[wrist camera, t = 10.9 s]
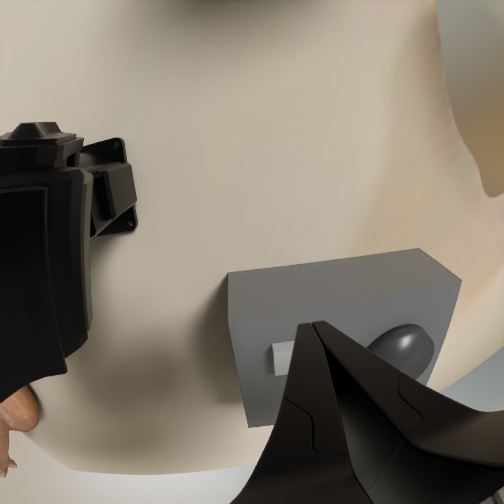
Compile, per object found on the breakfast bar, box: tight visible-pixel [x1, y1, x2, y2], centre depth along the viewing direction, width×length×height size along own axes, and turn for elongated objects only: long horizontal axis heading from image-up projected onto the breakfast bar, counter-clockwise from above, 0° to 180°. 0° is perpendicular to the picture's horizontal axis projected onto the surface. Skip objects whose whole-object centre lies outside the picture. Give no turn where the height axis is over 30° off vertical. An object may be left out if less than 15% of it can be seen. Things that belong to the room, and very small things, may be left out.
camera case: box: [228, 248, 462, 428], centre depth 20 cm, size 16×11×7 cm
